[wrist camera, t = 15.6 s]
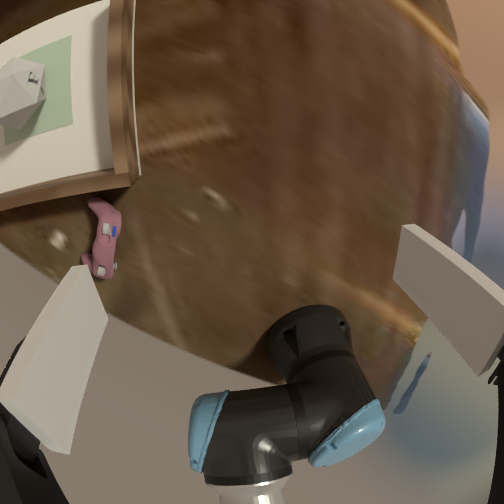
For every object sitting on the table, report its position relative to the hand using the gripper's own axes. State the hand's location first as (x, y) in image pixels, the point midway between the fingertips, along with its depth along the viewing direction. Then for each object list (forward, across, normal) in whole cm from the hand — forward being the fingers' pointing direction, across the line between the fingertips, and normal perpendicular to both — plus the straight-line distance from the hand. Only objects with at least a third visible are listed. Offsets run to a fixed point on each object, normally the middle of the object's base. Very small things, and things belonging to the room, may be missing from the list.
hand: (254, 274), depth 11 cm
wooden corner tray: (+24, +21, -13) cm, 35 cm away
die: (+24, +24, -15) cm, 37 cm away
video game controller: (+25, +16, +6) cm, 31 cm away
